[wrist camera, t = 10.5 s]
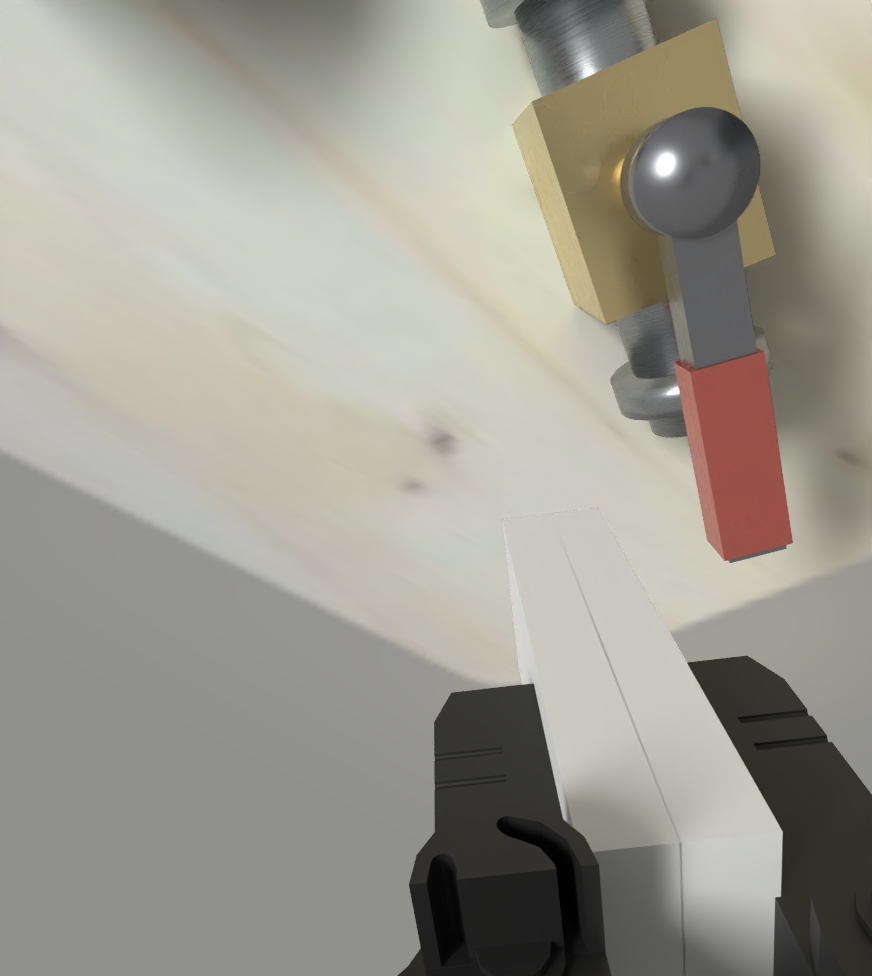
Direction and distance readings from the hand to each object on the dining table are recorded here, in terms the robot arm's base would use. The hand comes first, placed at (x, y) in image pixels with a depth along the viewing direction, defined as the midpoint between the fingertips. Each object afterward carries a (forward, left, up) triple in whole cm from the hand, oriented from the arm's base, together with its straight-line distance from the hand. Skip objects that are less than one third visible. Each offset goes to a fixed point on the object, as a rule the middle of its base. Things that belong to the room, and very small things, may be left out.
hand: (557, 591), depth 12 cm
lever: (-7, +2, -16) cm, 17 cm away
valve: (-8, -4, -24) cm, 26 cm away
